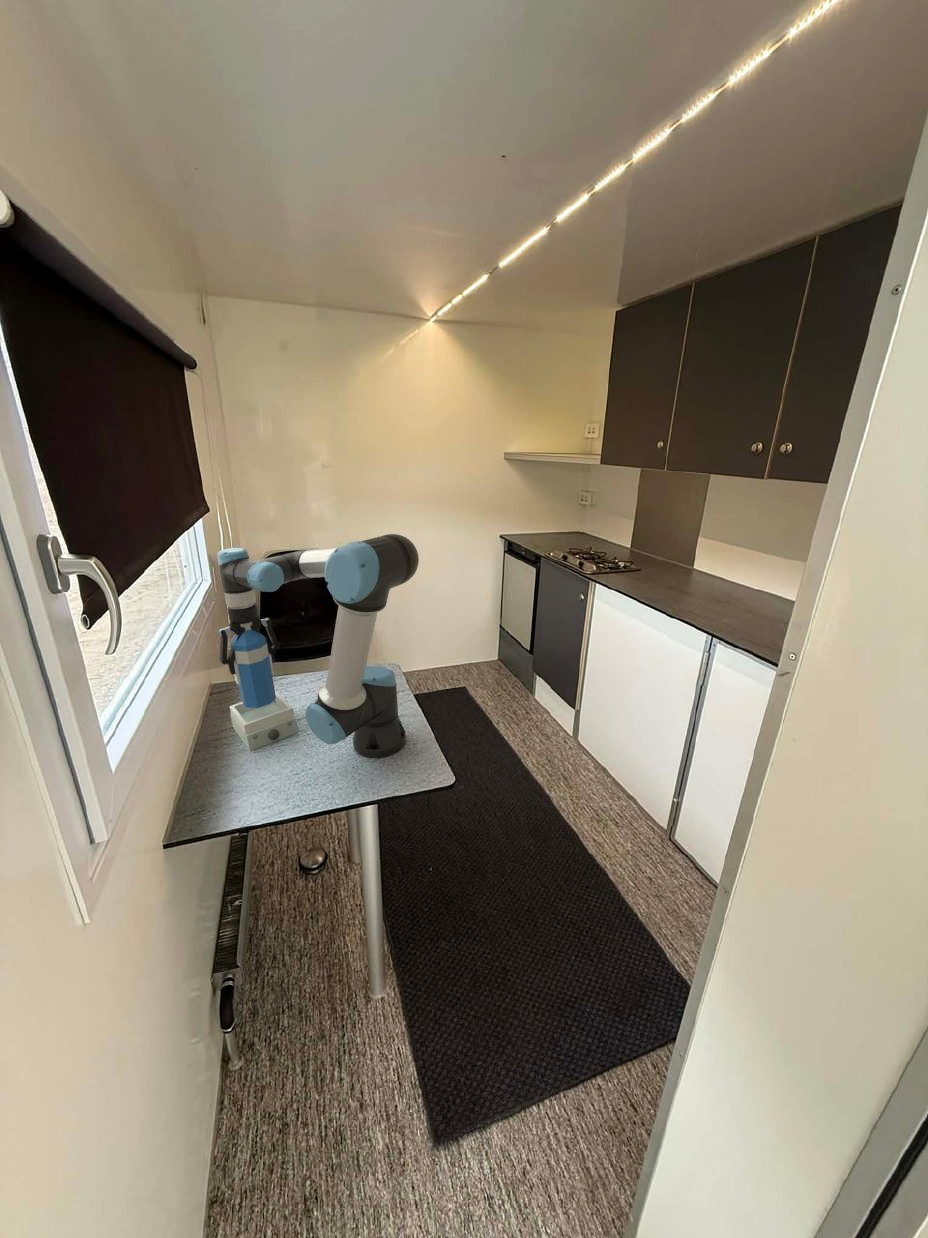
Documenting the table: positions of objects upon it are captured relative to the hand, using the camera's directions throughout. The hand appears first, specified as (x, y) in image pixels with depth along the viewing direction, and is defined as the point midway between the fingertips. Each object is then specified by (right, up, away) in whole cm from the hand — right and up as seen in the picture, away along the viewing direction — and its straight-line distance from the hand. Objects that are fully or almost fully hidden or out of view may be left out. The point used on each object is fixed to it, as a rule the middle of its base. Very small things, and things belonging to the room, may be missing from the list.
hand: (255, 678), depth 139 cm
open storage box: (0, -17, +6) cm, 18 cm away
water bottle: (0, -7, +3) cm, 8 cm away
